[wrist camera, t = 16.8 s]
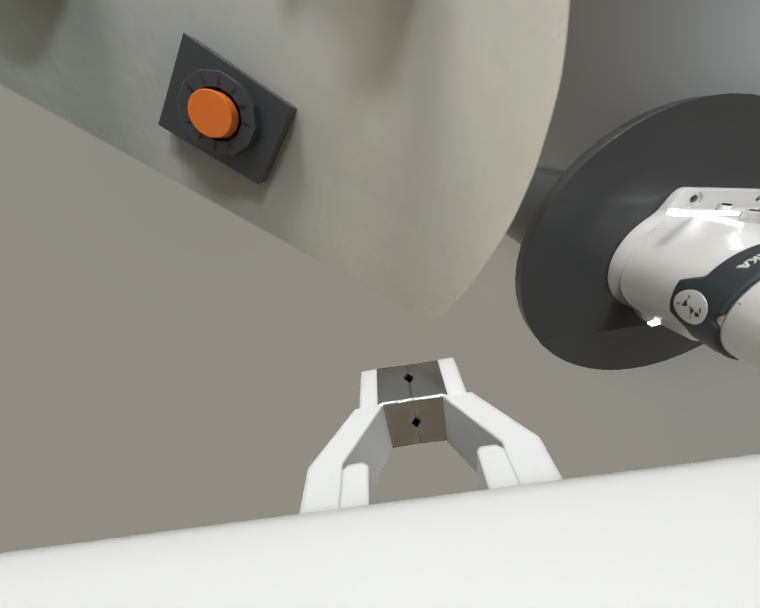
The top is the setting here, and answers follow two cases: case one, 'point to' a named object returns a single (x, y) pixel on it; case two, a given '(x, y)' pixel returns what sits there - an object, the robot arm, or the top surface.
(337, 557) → the robot arm
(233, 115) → the button
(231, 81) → the block
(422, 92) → the top surface
